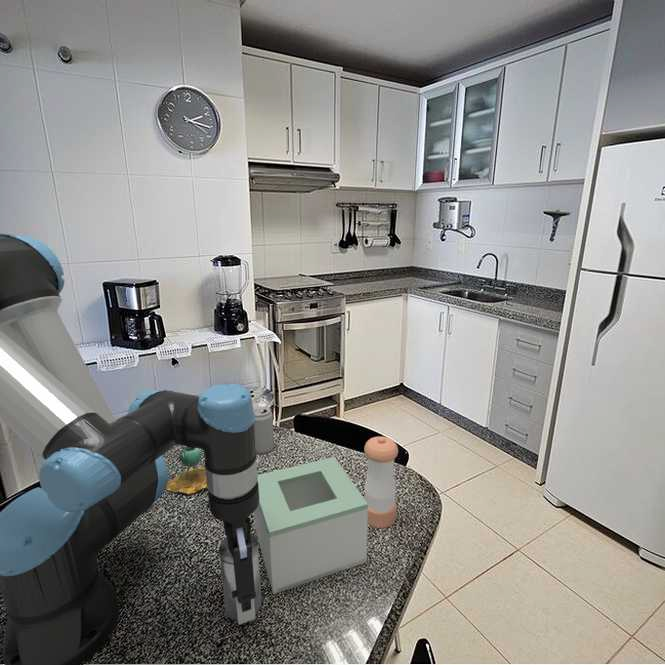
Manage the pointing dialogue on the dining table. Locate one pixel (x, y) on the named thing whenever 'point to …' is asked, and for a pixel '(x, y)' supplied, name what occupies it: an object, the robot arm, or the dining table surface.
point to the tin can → (229, 577)
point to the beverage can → (263, 429)
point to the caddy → (309, 523)
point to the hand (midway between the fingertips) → (243, 601)
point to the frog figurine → (188, 473)
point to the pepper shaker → (380, 481)
